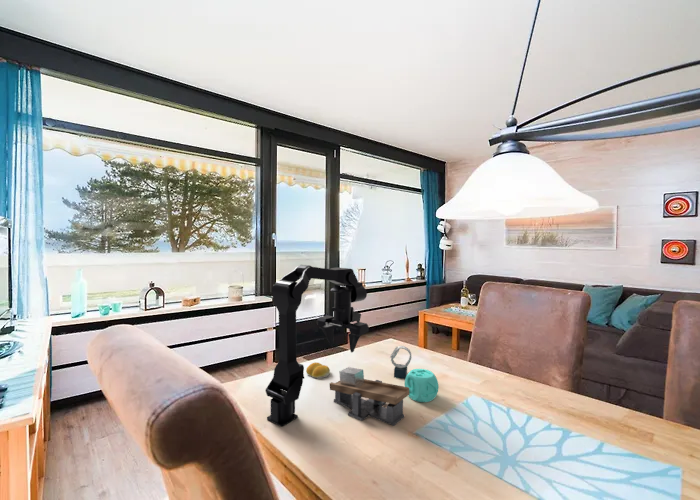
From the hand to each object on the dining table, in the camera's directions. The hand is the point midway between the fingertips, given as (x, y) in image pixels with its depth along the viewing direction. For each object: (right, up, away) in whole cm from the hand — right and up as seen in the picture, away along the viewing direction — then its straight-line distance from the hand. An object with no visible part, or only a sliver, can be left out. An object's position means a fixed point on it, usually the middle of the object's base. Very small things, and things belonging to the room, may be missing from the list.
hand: (341, 349), depth 120 cm
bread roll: (-9, -13, +12) cm, 20 cm away
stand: (+8, -14, -14) cm, 22 cm away
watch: (+22, -14, +12) cm, 29 cm away
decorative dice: (+26, -15, -5) cm, 31 cm away
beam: (+8, -8, -14) cm, 18 cm away
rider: (+4, -8, -10) cm, 14 cm away
